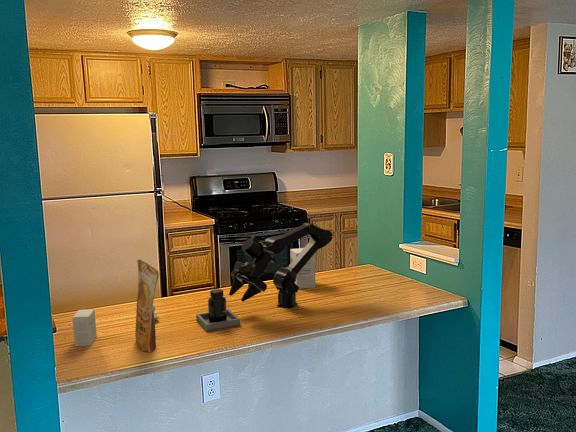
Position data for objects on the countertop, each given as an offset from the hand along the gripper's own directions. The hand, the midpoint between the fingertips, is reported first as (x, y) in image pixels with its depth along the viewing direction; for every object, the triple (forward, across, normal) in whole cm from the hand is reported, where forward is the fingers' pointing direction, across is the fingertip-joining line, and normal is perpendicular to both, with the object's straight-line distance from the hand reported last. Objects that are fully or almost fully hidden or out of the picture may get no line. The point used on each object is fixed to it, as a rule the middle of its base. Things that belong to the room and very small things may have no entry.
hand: (235, 298), depth 209 cm
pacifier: (+25, -19, -13) cm, 34 cm away
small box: (+43, -12, -32) cm, 55 cm away
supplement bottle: (+11, 0, 0) cm, 11 cm away
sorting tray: (+11, 0, 0) cm, 11 cm away
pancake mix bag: (+32, +3, -20) cm, 38 cm away
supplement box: (-27, -19, +39) cm, 50 cm away
